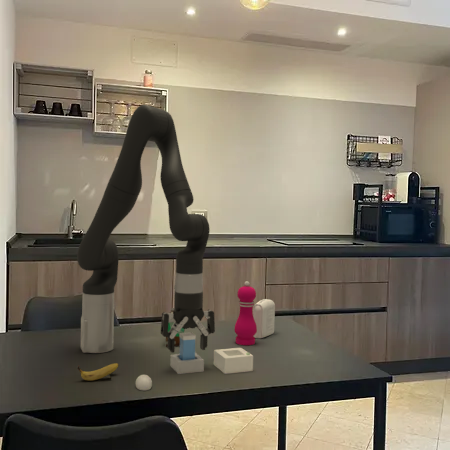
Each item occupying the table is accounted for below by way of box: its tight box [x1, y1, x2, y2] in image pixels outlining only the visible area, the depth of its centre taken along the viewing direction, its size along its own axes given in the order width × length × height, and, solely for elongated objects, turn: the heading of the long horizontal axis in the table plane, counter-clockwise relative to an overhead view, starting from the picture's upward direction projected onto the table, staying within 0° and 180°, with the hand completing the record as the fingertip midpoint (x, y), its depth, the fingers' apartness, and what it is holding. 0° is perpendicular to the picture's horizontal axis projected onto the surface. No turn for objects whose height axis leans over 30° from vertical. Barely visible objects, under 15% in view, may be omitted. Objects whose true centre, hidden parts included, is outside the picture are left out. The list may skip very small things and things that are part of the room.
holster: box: [169, 352, 205, 375], centre depth 140 cm, size 7×7×4 cm
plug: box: [179, 332, 197, 360], centre depth 140 cm, size 3×3×9 cm
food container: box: [165, 307, 186, 348], centre depth 168 cm, size 12×6×10 cm, turn 179°
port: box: [213, 347, 254, 375], centre depth 142 cm, size 8×8×5 cm
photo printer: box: [253, 298, 276, 339], centre depth 181 cm, size 10×4×12 cm, turn 148°
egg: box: [135, 374, 153, 392], centre depth 126 cm, size 4×6×4 cm, turn 16°
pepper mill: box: [234, 280, 257, 346], centre depth 170 cm, size 7×7×20 cm
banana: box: [77, 362, 120, 382], centre depth 132 cm, size 10×2×4 cm, turn 108°
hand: (187, 350), depth 140 cm, fingers open, 8 cm apart
